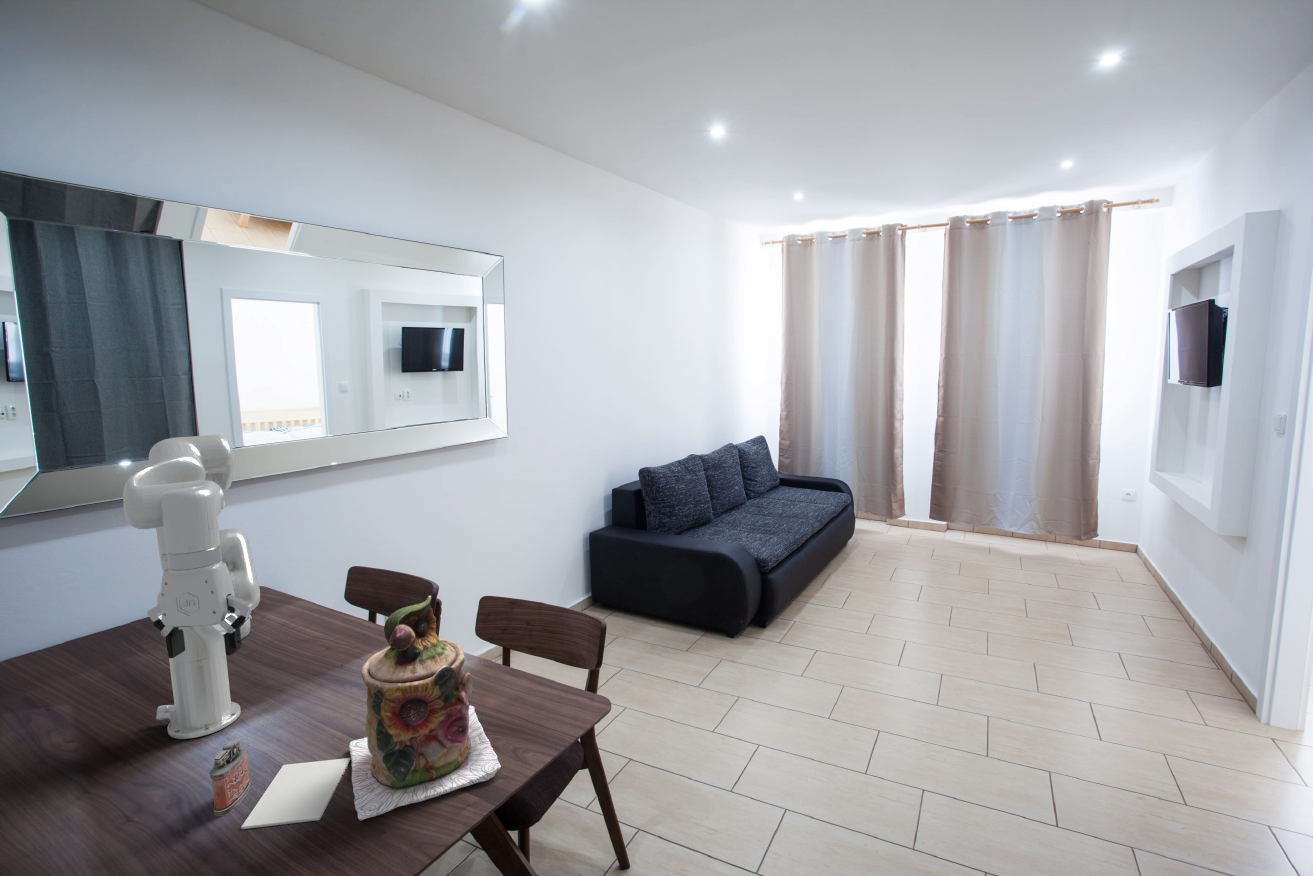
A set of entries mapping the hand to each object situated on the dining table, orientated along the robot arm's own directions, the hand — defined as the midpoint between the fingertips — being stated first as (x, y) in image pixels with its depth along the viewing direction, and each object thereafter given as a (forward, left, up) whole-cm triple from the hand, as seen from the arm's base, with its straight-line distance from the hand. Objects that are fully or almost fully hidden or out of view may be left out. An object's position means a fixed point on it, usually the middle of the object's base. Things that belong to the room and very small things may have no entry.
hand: (205, 653), depth 110 cm
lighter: (+4, -4, -26) cm, 26 cm away
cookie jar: (+35, +1, -26) cm, 43 cm away
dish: (-32, +68, -26) cm, 79 cm away
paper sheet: (+15, -4, -25) cm, 30 cm away
